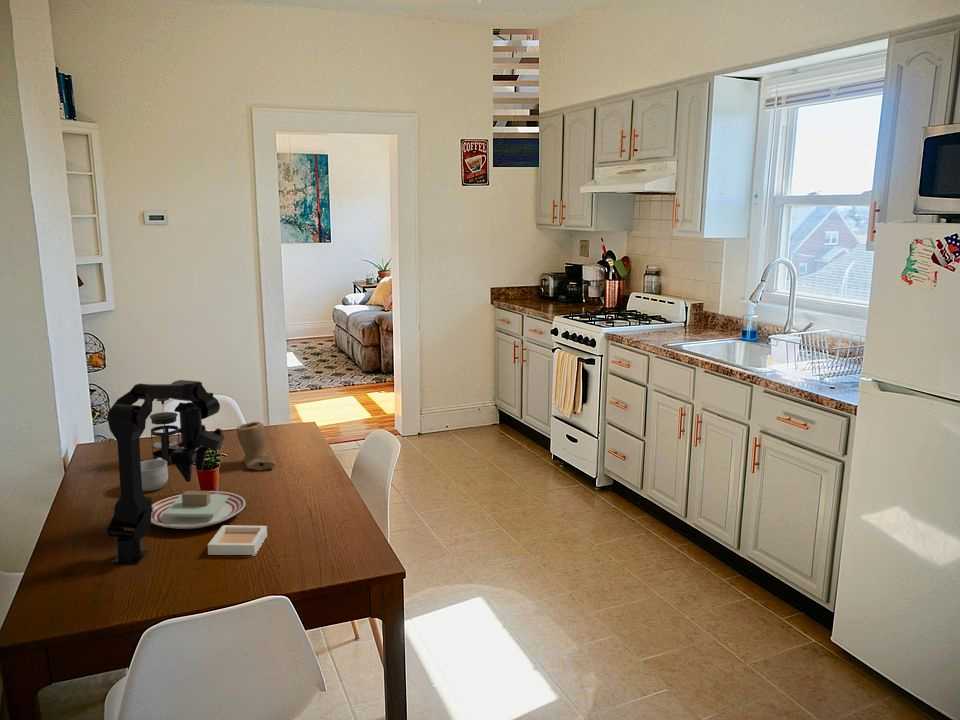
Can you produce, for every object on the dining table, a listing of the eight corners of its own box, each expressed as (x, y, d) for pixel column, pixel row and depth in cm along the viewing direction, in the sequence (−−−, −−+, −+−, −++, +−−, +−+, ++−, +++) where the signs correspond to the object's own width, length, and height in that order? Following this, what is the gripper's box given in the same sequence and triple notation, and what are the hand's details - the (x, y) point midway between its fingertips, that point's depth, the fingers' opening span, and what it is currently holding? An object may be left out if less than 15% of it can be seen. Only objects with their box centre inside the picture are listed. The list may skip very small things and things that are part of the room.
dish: (254, 556, 190) (254, 545, 189) (208, 555, 190) (207, 544, 189) (267, 536, 202) (266, 525, 201) (223, 535, 202) (222, 525, 201)
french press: (153, 457, 263) (149, 395, 258) (181, 455, 266) (177, 393, 261) (150, 468, 252) (146, 403, 247) (180, 466, 255) (176, 401, 250)
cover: (213, 516, 207) (212, 502, 206) (162, 516, 206) (161, 501, 205) (228, 497, 220) (227, 484, 220) (181, 497, 220) (180, 483, 219)
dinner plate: (147, 505, 222) (147, 494, 221) (242, 494, 232) (242, 484, 231) (142, 543, 197) (141, 531, 196) (249, 529, 206) (248, 518, 206)
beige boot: (236, 460, 262) (234, 419, 259) (271, 456, 266) (269, 416, 264) (240, 474, 248) (238, 431, 245) (277, 470, 253) (275, 428, 250)
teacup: (155, 495, 228) (153, 471, 227) (124, 492, 231) (122, 468, 229) (181, 480, 242) (180, 457, 240) (152, 477, 244) (150, 454, 242)
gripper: (208, 434, 200) (211, 488, 203) (230, 415, 218) (232, 465, 221) (166, 433, 199) (170, 487, 203) (192, 414, 218) (195, 464, 221)
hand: (194, 475), depth 212 cm, fingers open, 9 cm apart
